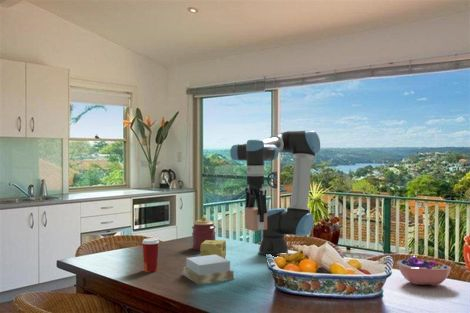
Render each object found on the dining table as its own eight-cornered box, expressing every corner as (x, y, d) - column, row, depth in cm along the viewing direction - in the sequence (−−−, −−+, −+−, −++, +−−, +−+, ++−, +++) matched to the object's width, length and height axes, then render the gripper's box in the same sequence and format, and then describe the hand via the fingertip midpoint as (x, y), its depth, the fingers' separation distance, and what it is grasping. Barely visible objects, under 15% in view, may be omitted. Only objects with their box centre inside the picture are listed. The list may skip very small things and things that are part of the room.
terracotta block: (258, 226, 203) (258, 206, 202) (267, 229, 196) (267, 208, 196) (245, 228, 199) (244, 207, 199) (253, 231, 193) (253, 209, 193)
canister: (215, 251, 243) (214, 218, 243) (190, 251, 243) (190, 218, 243) (216, 246, 256) (216, 214, 256) (193, 246, 256) (193, 214, 256)
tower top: (215, 263, 203) (215, 254, 203) (230, 270, 190) (230, 261, 190) (186, 267, 196) (186, 258, 196) (199, 275, 184) (199, 265, 184)
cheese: (221, 265, 213) (221, 244, 213) (199, 264, 215) (199, 243, 215) (226, 260, 223) (226, 240, 223) (205, 259, 225) (204, 239, 225)
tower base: (216, 271, 204) (216, 262, 204) (233, 280, 190) (233, 270, 190) (183, 276, 197) (183, 267, 197) (198, 286, 183) (198, 276, 183)
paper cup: (162, 269, 206) (162, 238, 206) (152, 273, 199) (152, 241, 199) (148, 267, 209) (148, 237, 209) (138, 271, 202) (138, 240, 202)
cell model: (448, 294, 169) (448, 264, 169) (392, 286, 180) (392, 257, 179) (453, 283, 183) (453, 255, 183) (401, 276, 194) (401, 249, 194)
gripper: (236, 174, 204) (237, 225, 205) (260, 176, 187) (260, 232, 187) (251, 173, 208) (251, 224, 208) (275, 176, 190) (276, 231, 191)
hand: (255, 228), depth 198 cm, fingers closed on terracotta block, 7 cm apart
